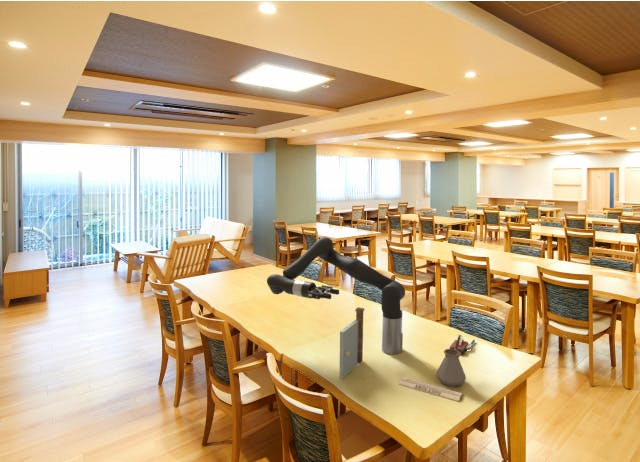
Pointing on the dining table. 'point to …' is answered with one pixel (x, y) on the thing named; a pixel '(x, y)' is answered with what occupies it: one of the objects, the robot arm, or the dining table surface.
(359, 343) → the hinge post
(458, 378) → the coffee pot
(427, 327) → the dining table surface
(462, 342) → the dried flower sprig
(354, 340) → the door
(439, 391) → the tan flat bar
